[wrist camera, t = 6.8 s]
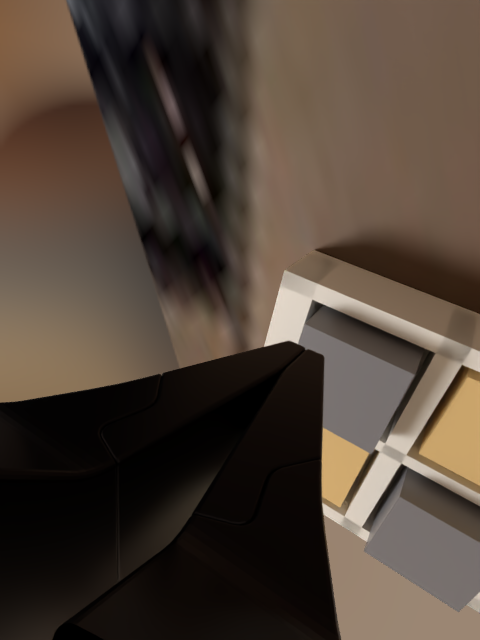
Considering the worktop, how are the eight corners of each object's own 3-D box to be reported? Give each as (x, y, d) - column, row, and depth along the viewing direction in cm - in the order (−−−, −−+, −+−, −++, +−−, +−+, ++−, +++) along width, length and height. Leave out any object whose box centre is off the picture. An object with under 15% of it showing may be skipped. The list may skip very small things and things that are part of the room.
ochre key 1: (384, 417, 22) (369, 452, 20) (356, 470, 24) (340, 507, 22) (307, 377, 24) (285, 406, 21) (288, 431, 26) (266, 462, 24)
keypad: (669, 387, 16) (703, 444, 13) (494, 560, 22) (492, 621, 20) (313, 249, 21) (284, 270, 18) (261, 424, 28) (234, 457, 25)
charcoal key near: (427, 340, 18) (414, 374, 15) (387, 415, 20) (371, 454, 18) (329, 299, 19) (304, 324, 17) (303, 372, 22) (279, 403, 19)
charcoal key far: (512, 506, 19) (512, 561, 16) (464, 557, 21) (458, 612, 19) (412, 452, 20) (399, 496, 18) (378, 506, 23) (363, 551, 20)
